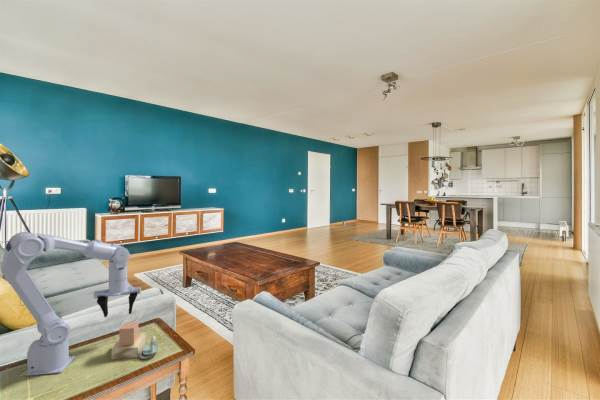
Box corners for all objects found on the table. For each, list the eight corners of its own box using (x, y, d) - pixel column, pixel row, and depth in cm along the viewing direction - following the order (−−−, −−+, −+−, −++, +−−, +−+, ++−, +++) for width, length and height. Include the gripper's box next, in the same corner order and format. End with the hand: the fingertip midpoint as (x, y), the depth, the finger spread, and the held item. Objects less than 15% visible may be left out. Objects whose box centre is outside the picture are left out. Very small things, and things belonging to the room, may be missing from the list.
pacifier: (138, 362, 94) (158, 358, 97) (137, 345, 94) (157, 340, 97) (139, 350, 101) (158, 346, 104) (139, 333, 101) (158, 329, 103)
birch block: (111, 359, 95) (111, 349, 95) (121, 345, 103) (121, 336, 103) (137, 357, 97) (137, 347, 97) (145, 343, 105) (145, 334, 104)
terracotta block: (119, 346, 97) (119, 329, 97) (124, 338, 101) (124, 322, 101) (133, 344, 98) (133, 328, 98) (138, 337, 102) (138, 321, 102)
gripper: (90, 284, 97) (91, 322, 98) (139, 280, 103) (139, 316, 104) (96, 277, 104) (97, 313, 105) (141, 273, 109) (141, 307, 110)
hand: (118, 314), depth 105 cm, fingers open, 7 cm apart
